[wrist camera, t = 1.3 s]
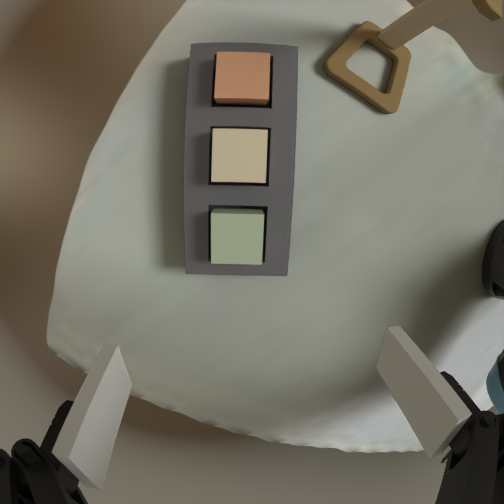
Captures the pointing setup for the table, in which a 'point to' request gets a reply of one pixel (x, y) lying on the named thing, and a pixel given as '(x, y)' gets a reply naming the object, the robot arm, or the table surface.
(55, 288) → the table surface
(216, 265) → the keypad
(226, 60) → the terracotta key
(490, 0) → the headphone stand
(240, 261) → the sage key
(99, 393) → the robot arm
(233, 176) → the sand key
